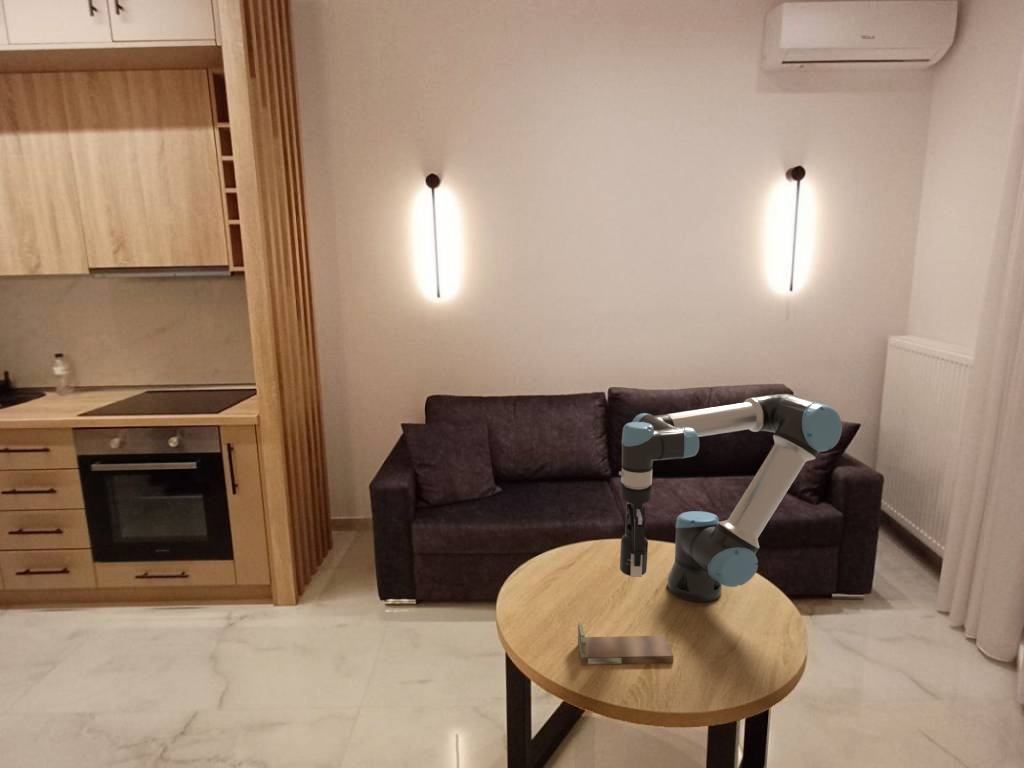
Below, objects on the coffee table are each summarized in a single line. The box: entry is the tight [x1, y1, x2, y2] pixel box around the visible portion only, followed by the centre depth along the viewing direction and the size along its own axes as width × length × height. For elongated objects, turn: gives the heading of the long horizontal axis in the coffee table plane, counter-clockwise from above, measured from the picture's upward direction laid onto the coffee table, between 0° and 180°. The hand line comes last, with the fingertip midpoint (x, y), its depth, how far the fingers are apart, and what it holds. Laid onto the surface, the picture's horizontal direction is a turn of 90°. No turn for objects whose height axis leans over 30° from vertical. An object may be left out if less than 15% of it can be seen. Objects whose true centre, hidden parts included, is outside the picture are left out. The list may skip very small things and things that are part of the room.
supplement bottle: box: [619, 524, 649, 577], centre depth 157 cm, size 7×7×12 cm
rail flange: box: [577, 622, 674, 666], centre depth 150 cm, size 22×8×6 cm, turn 90°
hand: (633, 568), depth 158 cm, fingers closed on supplement bottle, 7 cm apart
